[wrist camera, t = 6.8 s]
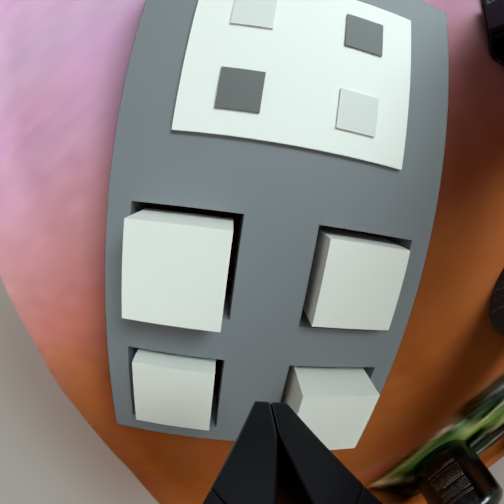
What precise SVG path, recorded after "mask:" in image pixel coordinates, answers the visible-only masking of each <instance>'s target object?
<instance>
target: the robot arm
mask: <svg viewBox="0 0 504 504" xmlns="http://www.w3.org/2000/svg"><path fill="white" fill-rule="evenodd" d="M483 4H484V10H485V16H486V23H487V30H488V38H489V48H490V54H491V56H492V57H493V59H494V60H496V61H497V62H499V63H500V64H502V65H503V66H504V0H483ZM203 504H383V503H382V502H380V501H379V500H378V499H377V498H376V497H375V496H374V495H373V494H372V493H371V492H370V491H369V490H368V489H367V488H366V487H363V484H362V483H361V482H360V481H359V480H358V479H357V478H356V477H355V476H354V475H353V474H352V473H351V472H350V471H349V470H348V469H347V468H346V467H345V466H344V465H343V464H342V463H341V462H340V461H339V460H338V459H337V458H336V457H335V456H334V454H333V453H332V452H331V451H330V450H329V449H328V448H327V447H326V446H325V445H324V444H323V443H322V442H321V441H320V439H319V438H318V437H317V436H316V435H315V434H314V433H313V432H312V431H311V430H310V429H309V427H308V426H307V425H306V424H305V423H304V422H303V421H302V420H301V419H300V417H299V416H298V415H297V414H296V413H295V412H294V411H293V409H292V408H291V407H290V406H289V405H288V404H287V403H284V402H272V403H271V404H270V403H269V402H265V401H255V402H254V403H253V405H252V407H251V409H250V411H249V413H248V416H247V418H246V420H245V422H244V424H243V426H242V428H241V430H240V432H239V434H238V436H237V438H236V440H235V443H234V445H233V447H232V449H231V451H230V453H229V455H228V457H227V459H226V461H225V463H224V465H223V466H222V468H221V470H220V472H219V474H218V476H217V478H216V480H215V482H214V484H213V486H212V488H211V491H209V493H208V495H207V497H206V498H205V500H204V502H203Z"/></svg>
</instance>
